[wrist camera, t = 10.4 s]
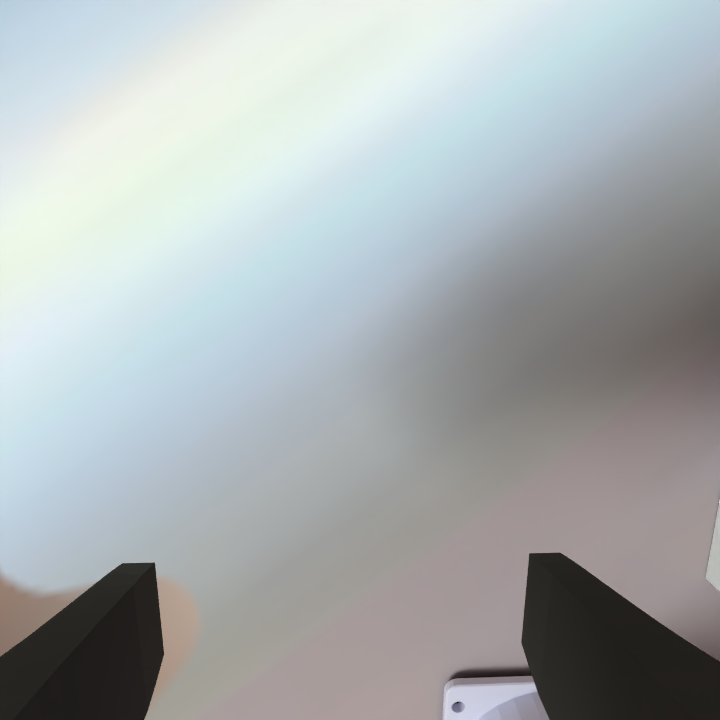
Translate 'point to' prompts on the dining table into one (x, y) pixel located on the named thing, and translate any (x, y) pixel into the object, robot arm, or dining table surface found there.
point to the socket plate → (715, 556)
